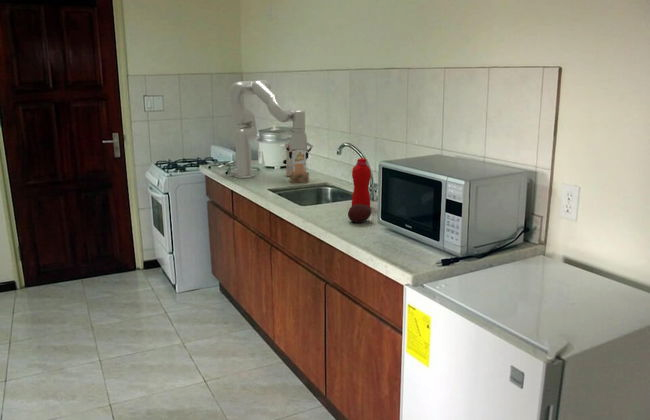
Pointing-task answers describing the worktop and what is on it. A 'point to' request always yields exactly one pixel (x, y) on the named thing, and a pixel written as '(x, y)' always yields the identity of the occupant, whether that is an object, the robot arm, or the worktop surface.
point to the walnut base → (299, 177)
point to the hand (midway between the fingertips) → (298, 158)
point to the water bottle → (361, 183)
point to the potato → (359, 213)
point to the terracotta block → (299, 168)
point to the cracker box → (295, 160)
